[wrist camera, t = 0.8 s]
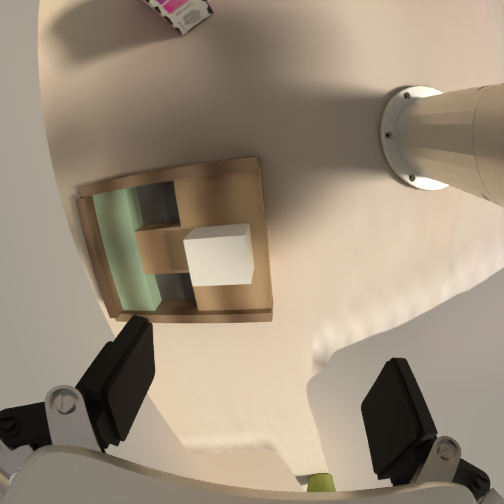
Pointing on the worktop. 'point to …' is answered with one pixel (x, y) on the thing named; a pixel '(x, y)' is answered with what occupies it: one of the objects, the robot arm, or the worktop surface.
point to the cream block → (220, 255)
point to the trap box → (175, 241)
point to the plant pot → (321, 483)
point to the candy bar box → (181, 12)
